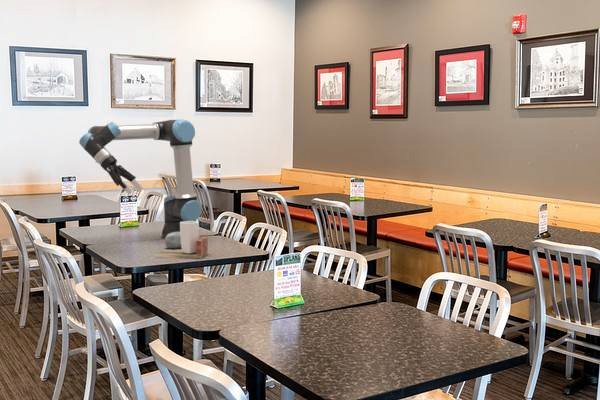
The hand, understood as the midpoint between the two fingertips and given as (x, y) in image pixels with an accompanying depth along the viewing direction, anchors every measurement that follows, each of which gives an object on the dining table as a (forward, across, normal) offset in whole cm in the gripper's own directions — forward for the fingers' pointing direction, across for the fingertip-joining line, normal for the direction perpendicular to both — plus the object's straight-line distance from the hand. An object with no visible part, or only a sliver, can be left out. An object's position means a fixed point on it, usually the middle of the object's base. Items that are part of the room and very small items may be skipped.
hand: (136, 191), depth 314 cm
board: (+38, +5, -4) cm, 38 cm away
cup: (+40, +5, -1) cm, 40 cm away
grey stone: (+32, -15, -10) cm, 37 cm away
